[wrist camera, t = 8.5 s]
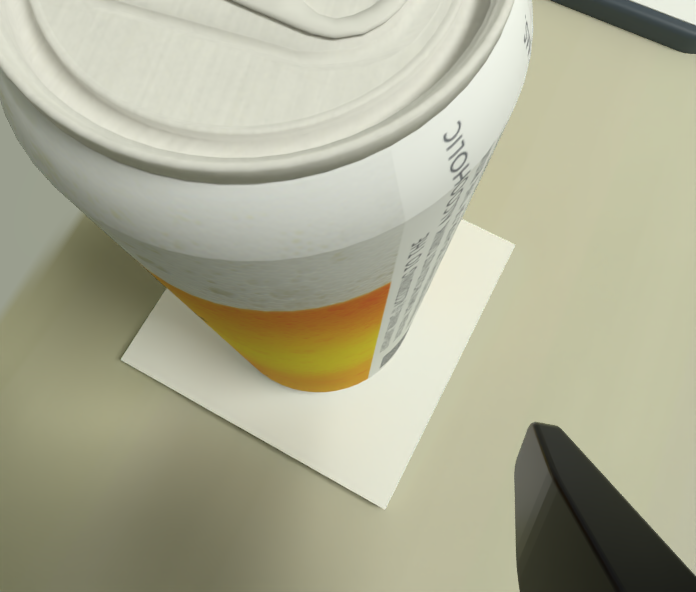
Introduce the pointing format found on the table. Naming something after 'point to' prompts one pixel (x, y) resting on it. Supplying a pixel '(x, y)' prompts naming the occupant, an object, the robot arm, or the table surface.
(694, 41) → the phone case
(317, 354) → the beer can
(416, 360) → the mat
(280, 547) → the table surface
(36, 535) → the table surface
